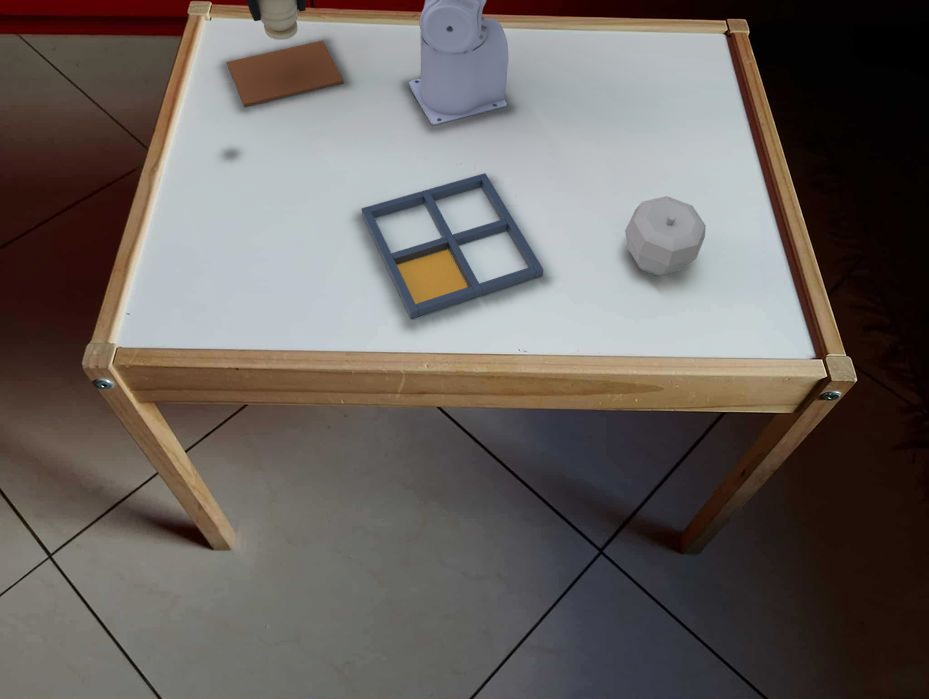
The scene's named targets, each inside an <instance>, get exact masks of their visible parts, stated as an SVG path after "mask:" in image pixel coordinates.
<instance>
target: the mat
mask: <svg viewBox="0 0 929 699" xmlns="http://www.w3.org/2000/svg"><path fill="white" fill-rule="evenodd" d="M226 66H227V69H228V70H229V74H230V75H231V78H232V80H233V83H234V85H235V88H236V90H237V93H238V95H239V98H240V101H241V103H242V105H243V107H250V106H255V105H259V104H262V103H267V102H270V101H271V102H272V101H275V100H280V99H283V98H288V97H293V96H296V95H300V94H304V93H308V92H312V91H316V90H320V89H325V88H328V87H333V86H336V85H337V86H338V85H341V84H344V79H343V77H342V75H341V73H340V71H339V70H338V67H337V66H336V64H335V61H334V60H333V58H332V56H331V53H330V52H329V50H328V47H327V45H326V44H325V42H324V40H318V41H314V42H309V43H304V44H301V45H296V46H292V47H287V48H283V49H279V50H274V51H270V52H265V53H261V54H255V55H251V56H247V57H242V58H238V59H234V60H229V61H226Z"/></svg>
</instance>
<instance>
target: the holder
mask: <svg viewBox="0 0 929 699" xmlns="http://www.w3.org/2000/svg"><path fill="white" fill-rule="evenodd" d="M489 178H490V177H489V176H488V175H487V172H484V173H480V174H478V175H477V174H476V175H474V176H470V177H466V178H463V179H460V180H459V179H458V180H456V181H452V182H449V183H445V184H441V185H438V186H434V187H431V188H428V189H425V190H424V189H423V190H421V191H418V192H413V193H411V194H407V195H403V196H399V197H396V198H393V199H390V200H386V201H383V202H379V203H376V204H372V205H369V206H365V207H361V209H360V210H361V217H362V219H363V220H364V223H365V225H366V227H367V229H368V232H369V234H370V235H371V237H372V240H373V242H374V244H375V246H376V249H377V251H378V253H379V255H380V256H381V259H382V261H383V263H384V265H385V267H386V269H387V270H386V271H388V274H389V276H390V278H391V280H392V282H393V285H394V287H395V289H396V291H397V293H398V295H399V297H400V299H401V302H402V303H403V306H404V308H405V310H406V312H407V314H408V316H409V318H410V320H412V319H415V318H419V317H422V316H425V315H428V314H430V313H434V312H437V311H440V310H443V309H446V308H449V307H452V306H456V305H458V304H462V303H464V302H468V301H470V300H473V299H476V298H479V297H482V296H486V295H488V294H491V293H494V292H498V291H501V290H504V289H506V288H511V287H513V286H517V285H520V284H522V283H525V282H529V281H531V280H534V279H537V278H541V277H542V276H543V273H544V268H543V266H542V265H541V263H540V261H539V260H538V258H537V256H536V254H535V253H534V251H533V249H532V248H531V246H530V244H529V242H528V241H527V240H526V238H525V237H524V234H523V233H522V232H521V229H520V228H519V226H518V225H517V223H516V221H515V220H514V218H513V216H512V215H511V213H510V211H509V210H508V208H507V207H506V205H505V203H504V202H503V200H502V198H501V197H500V195H499V193H498V191H497V190H496V188H495V187H494V185H493V183H492V182H491V180H490V179H489ZM478 188H481V189H482V191H483V193H484V194H485V196H486V198H487V199H488V201H489V203H490V204H491V206H492V208H493V209H494V211H495V213H496V215H497V217H498V219H499V220H496V221H493V222H489V223H486V224H483V225H480V226H476V227H473V228H470V229H469V228H468V229H467V230H463V231H459V232H457V233H454V234H453V233H452V231H451V229H450V227H449V225H448V223H447V222H446V220H445V218H444V216H443V214H442V212H441V210H440V209H439V207H438V205H437V203H436V201H438V200H441V199H444V198H448V197H451V196H454V195H457V194H462V193H464V192H468V191H471V190H475V189H478ZM419 205H424V206H425V209H426V210H427V212H428V214H429V216H430V218H431V219H432V222H433V223H434V226H435V227H436V229H437V231H438V233H439V234H440V236H441V237H440V238H437V239H434V240H431V241H426V242H424V243H421V244H417V245H413V246H411V247H407V248H404V249H399V250H397V251H394V252H391V250H390V248H389V246H388V243H387V241H386V239H385V238H384V235H383V233H382V232H381V229H380V226H379V225H378V223H377V221H376V219H375V218H378V217H381V216H386V215H388V214H389V215H390V214H393V213H395V212H399V211H402V210H406V209H410V208H413V207H416V206H419ZM504 232H507V233H508V235H509V237H510V238H511V240H512V242H513V244H514V245H515V247H516V249H517V250H518V252H519V253H520V256H521V257H522V259H523V260H524V262H525V264H526V266H527V268H522V269H519V270H517V271H513V272H510V273H508V274H505V275H501V276H498V277H495V278H492V279H489V280H486V281H482V282H479V280H478V279H477V277H476V275H475V273H474V271H473V269H472V268H471V266H470V263H469V262H468V260H467V258H466V256H465V255H464V253H463V251H462V250H461V247H460V246H462V245H467V244H468V243H471V242H475V241H478V240H482V239H485V238H489V237H491V236H494V235H498V234H501V233H504Z"/></svg>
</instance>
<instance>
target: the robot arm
mask: <svg viewBox="0 0 929 699" xmlns="http://www.w3.org/2000/svg"><path fill="white" fill-rule="evenodd" d="M245 2H246V4H247V7H248V10H249V13H250V14H251V17H252V20H253V21H254V22H259V21H261V18H260V12H259V9H258V5H257V2H256V0H245ZM297 3H298V12H300V13H301V12H305V11H306V10H307V8H306V7H307V0H297ZM486 3H487V0H424V4H423V8H422V11H421V13H420V16H419V23H418V24H419V25H418V26H419V30H420V32H419V33H420V78H416V79H412V80H410V81H409V82H408V87H409V89H410V90H411V92H412V94H413V95H414V97H415V99H416V101H417V102H418V104H419V106H420V108H421V109H422V111H423V113H424V115H425V116H426V118H427V120H428V121H429V123H430V124H431V126H432V127H436V126H439V125H443V124H447V123H451V122H455V121H459V120H463V119H466V118H471V117H474V116H477V115H482V114H484V113H490V112H493V111H497V110H500V109H504V108H506V107H507V101H506V100H505V97H506V96H505V95H506V87H507V86H506V85H507V75H508V68H509V67H508V66H509V45H508V39H507V36H506V33H505V30H504V28H503V27H502V24H501V23H500V21H499V20H498V19H496V18H494V17H487V18H485V17H484V15H483V10H484V7H485V5H486Z"/></svg>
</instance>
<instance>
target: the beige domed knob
mask: <svg viewBox="0 0 929 699" xmlns="http://www.w3.org/2000/svg"><path fill="white" fill-rule="evenodd" d="M256 2H257V5H258V9H259V12H260V18H261V20H260V22H261V23H262V24H263V30H264V34H265V35H266V36H267V37H268V38H270V39H273V40H278V41H282V40H284V41H285V40H288V39H291V38H293V37H294V36H295V35H296V34H297V33H298V30H299V27H298V22H297V20H298V17H299V9H298V3H297V0H256Z"/></svg>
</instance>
